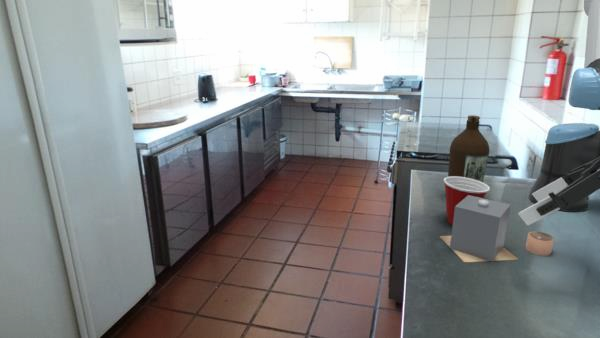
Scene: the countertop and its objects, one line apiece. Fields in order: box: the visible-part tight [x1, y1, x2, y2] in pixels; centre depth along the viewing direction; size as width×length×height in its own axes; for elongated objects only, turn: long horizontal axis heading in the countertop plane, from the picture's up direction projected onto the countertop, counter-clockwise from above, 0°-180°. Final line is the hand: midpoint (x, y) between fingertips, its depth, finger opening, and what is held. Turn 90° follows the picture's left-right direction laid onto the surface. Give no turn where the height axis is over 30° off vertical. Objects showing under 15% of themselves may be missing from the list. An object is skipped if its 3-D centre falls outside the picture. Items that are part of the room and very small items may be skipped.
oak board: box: [439, 235, 519, 263], centre depth 92 cm, size 12×12×1 cm
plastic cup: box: [443, 176, 491, 226], centre depth 103 cm, size 11×11×12 cm
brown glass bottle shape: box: [447, 114, 490, 183], centre depth 120 cm, size 11×11×25 cm
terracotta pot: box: [525, 230, 555, 257], centre depth 90 cm, size 5×5×5 cm
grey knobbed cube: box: [449, 195, 511, 262], centre depth 90 cm, size 9×9×11 cm
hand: (530, 208), depth 82 cm, fingers open, 13 cm apart
